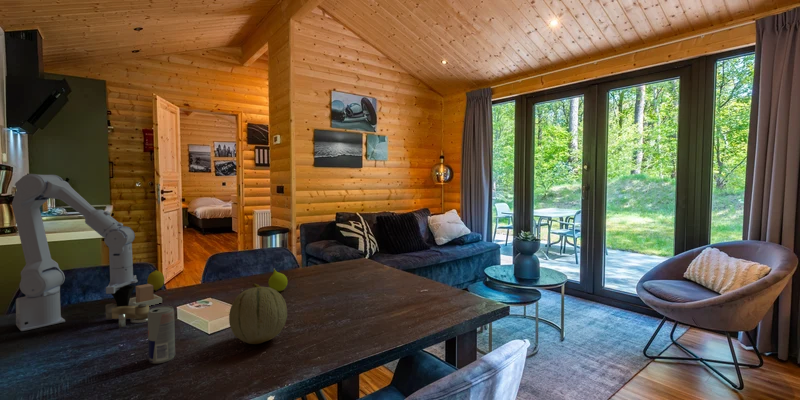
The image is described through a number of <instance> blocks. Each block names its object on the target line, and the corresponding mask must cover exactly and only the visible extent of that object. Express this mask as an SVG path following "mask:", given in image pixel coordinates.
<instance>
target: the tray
mask: <svg viewBox="0 0 800 400" xmlns="http://www.w3.org/2000/svg"><path fill="white" fill-rule="evenodd" d="M159 303H162V304H163V297H161V296H158V295H157V294H155V293H154V299H153V300H148V301H144V302H139V303H136V296H134V297H130V300H129V306H138V305H139V304H146V305H149V306H150V307H152V306H151V305H154V306H156V305H155V304H159ZM159 305H160V304H159Z"/></svg>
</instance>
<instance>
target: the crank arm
mask: <svg viewBox="0 0 800 400" xmlns="http://www.w3.org/2000/svg"><path fill="white" fill-rule="evenodd" d="M104 307H105V320H112V319H114V320H117V319H118V320H119V314H122V313H125V314H126V319H132V318H136V319H144V318H147V317H148V313H149V310H150V307H149V305H146V304H139V305H138V306H117V303H116V302H115V303H114V302H113V303H107V304H105V306H104Z"/></svg>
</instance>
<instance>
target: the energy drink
mask: <svg viewBox="0 0 800 400" xmlns="http://www.w3.org/2000/svg"><path fill="white" fill-rule="evenodd" d="M175 327H176V326H175V309H174V307H173V306H171V305H161V306H156V307H153V308H149V313H148V321H147V340H148V341H147V342H148V343H147V344H148V346H147V349H148V362H149V363H150V364H163V363H166V362H169V361H171V360H173V359H174V357H175V356H176V343H175V342H176V337H175V336H176V334H175V333H176V332H175V329H176V328H175Z"/></svg>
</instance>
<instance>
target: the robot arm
mask: <svg viewBox="0 0 800 400" xmlns="http://www.w3.org/2000/svg"><path fill="white" fill-rule="evenodd" d="M14 186H15V193H14V195H13V199H12V203H11V205H12V210H13V214H14V219H15V222H16V226H17V232H18V235H19V239H20V244H21V248H22V252H23V257H24V261H25V266H23V268H22V270H21V271H20V277H21V279H20V282H19V290H20V292H21V293H22V294H24V295H25V296H21V297H17V298H16V299H15V325H16V327H17V328H18V329H19V330H20V332H26V331H29V330H34V329H38V328H43V327H48V326H51V325H52V326H53V325H56V324H57V325H58V324H61V323H65V322H66V319H65V318H63V317H62V315H61V314H62V313H61V312H62V311H61V286H62V285H63V284H64V282H65V281H66V280H65V279H66V277H65V274H64V271H62V270H61V269H60V265H59V263H58V262H56V261H55V260H54V259H52V255H51V251H50V247H49V243H48V239H47V235H46V229H45V225H44V221H43V217H42V212H41V209H40V208H41V206H43V205H44V204H45V203H46V202H47V201H48V200H50V199H55V200H60V201H62V202H64V203H65V204H66V205H67V206H68V207H70V208H72V209H73V210H74V211H76V212H77V213H78V214H80V215H82V216H83V217H84V223H85V224H86V225H87V226H88V227H89V228H91V229H92V230H93V231H94V232H96V233H97V234H98V235H100V236H101V237H102V238H103V240H104V243H105V245H106V246H107V247H108V253H109V254H108V257H109V259H108V260H109V280H110V281H109V283H108V286H106V287H105V295H111V296H112V297H113V299H114V300H115V303H116V306H129V300H130V298H131V296H132V293H133V291H134V290H135V289H136V285H135V284H136V283H138V281H139V280H138V279H137V275H136V274H135V275H134V266H133V265H134V264H133V263H134V261H133V259H134V258H133V242H134V241H135V238H136V234H135V232H134V230H133V229H132V227H129V226H125V225H124V224H123V222H119V221H117V220H116V218H114V217H113V216H111V214H112V213H111V212H110V211H108V210H104V209H96V208H95V207H94V206H92V204H90V203H89V202H88V201H87V200H86V199H85V198H84V197H83V196H81V195H80V194H79V193H78V192H77V191H76V190H75V189H74V188H73V187H72V186H71V184H70V183H69V182H68V181H66V180H64V179H63V178H62V177H61V176H59V175H56V174H36V173H27V174H25V175H22V177H21V178H19V179H18V180H17V181H16V182H15V183H14ZM130 284H132V285H130ZM133 284H134V285H133Z"/></svg>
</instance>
